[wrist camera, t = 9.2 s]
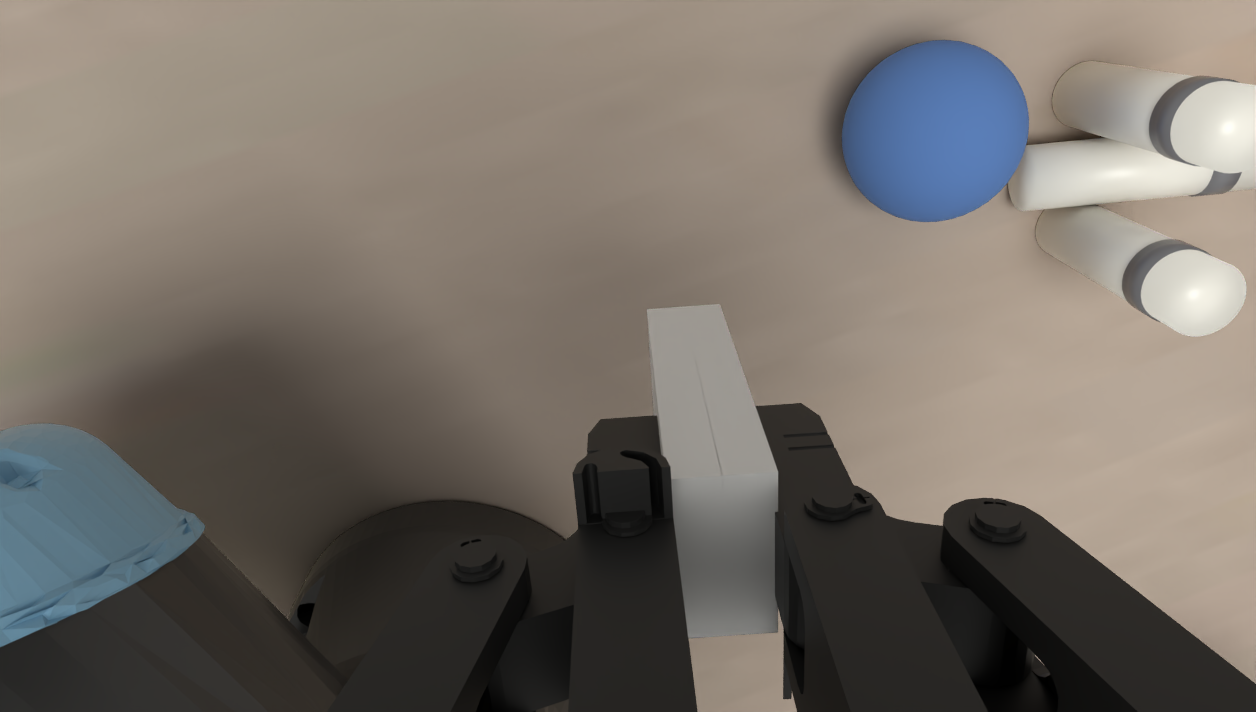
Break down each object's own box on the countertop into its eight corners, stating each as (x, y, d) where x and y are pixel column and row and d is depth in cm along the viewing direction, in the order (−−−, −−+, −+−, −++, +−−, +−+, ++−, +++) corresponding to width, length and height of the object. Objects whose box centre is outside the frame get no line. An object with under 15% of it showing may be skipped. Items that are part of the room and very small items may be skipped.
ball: (981, 188, 25) (815, 231, 29) (1070, 207, 29) (910, 242, 33) (960, -12, 25) (799, 61, 30) (1050, 33, 29) (895, 92, 34)
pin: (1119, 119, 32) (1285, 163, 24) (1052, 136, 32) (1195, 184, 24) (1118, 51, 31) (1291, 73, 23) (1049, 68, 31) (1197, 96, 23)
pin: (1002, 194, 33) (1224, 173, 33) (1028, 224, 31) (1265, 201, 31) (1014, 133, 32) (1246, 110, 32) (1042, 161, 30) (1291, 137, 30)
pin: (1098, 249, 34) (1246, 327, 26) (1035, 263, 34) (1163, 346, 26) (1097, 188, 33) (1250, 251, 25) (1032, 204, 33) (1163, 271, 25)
